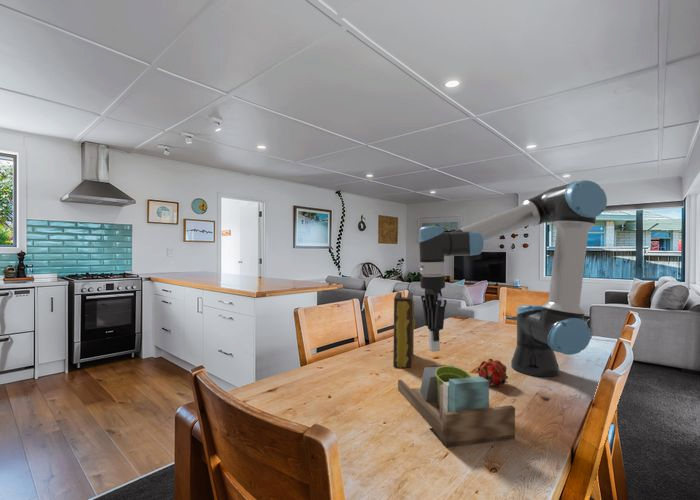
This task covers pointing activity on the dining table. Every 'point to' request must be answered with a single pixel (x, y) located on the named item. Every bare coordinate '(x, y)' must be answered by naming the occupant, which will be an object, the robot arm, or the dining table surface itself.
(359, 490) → the dining table surface
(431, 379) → the bookend
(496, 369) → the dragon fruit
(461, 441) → the book rack
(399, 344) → the book
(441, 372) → the plant pot
